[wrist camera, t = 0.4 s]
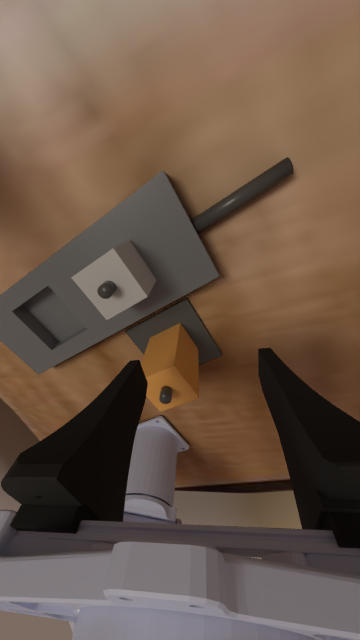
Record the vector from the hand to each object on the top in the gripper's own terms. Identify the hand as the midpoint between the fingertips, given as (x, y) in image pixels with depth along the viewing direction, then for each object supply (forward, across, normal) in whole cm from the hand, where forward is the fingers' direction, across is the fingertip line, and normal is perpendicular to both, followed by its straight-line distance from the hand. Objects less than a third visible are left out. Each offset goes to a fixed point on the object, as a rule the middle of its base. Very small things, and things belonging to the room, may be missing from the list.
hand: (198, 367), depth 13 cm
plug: (+10, +4, +5) cm, 12 cm away
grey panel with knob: (+10, +7, -4) cm, 13 cm away
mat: (+10, +4, +5) cm, 12 cm away
